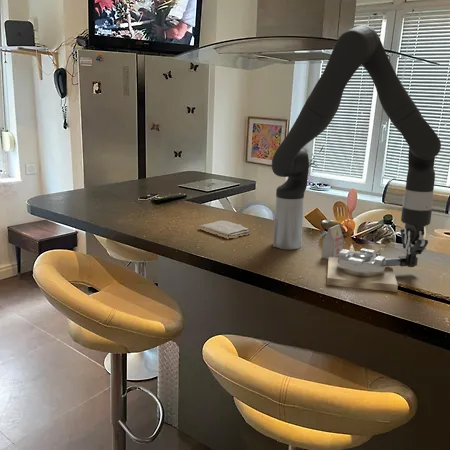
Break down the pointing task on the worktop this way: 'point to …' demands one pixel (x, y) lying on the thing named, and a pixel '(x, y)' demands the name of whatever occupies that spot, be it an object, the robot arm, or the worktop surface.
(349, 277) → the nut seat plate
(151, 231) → the worktop surface
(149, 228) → the worktop surface
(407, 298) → the worktop surface
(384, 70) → the robot arm
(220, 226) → the washcloth
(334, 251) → the white carton
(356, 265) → the grey frying pan
